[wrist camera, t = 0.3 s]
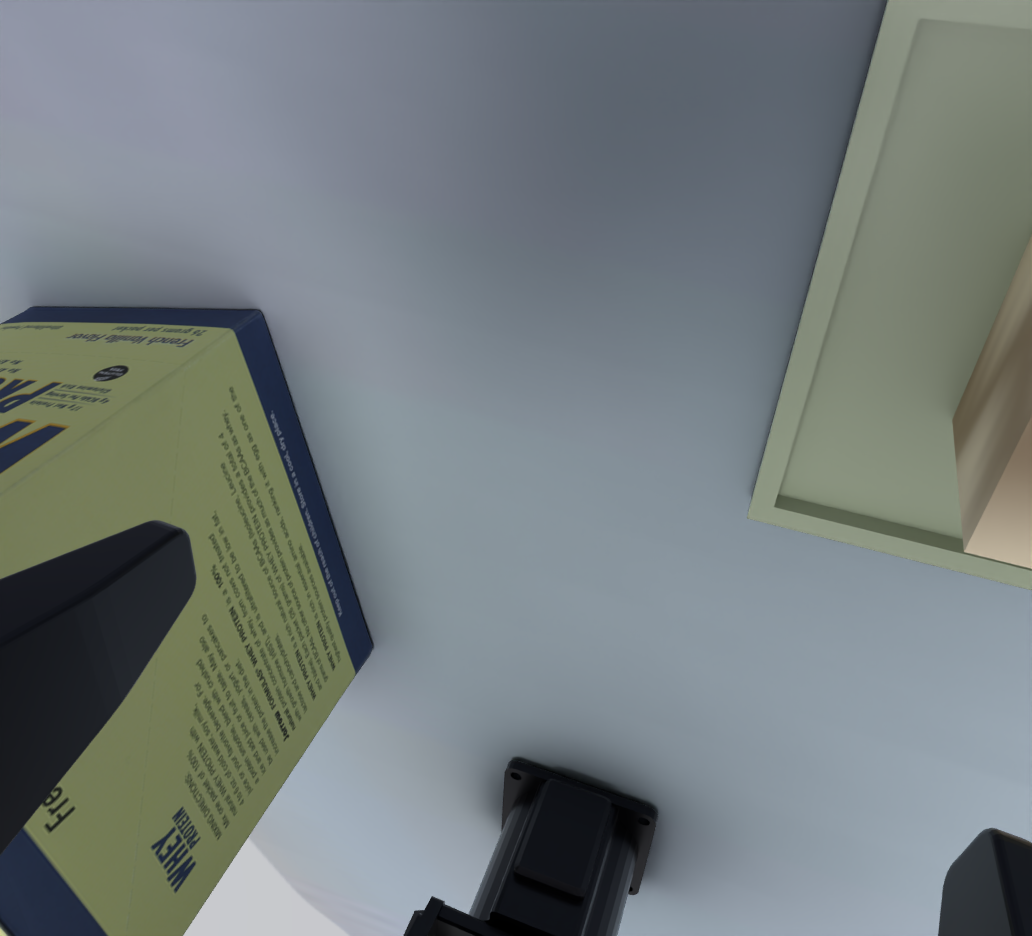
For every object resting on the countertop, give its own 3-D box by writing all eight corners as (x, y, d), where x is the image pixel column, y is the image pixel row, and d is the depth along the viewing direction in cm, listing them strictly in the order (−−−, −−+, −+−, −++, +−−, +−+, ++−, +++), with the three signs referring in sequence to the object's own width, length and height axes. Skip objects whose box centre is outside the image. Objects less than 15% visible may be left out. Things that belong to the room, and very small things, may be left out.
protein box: (261, 298, 26) (-255, 666, 15) (380, 650, 35) (116, 1061, 23) (23, 298, 30) (-535, 589, 18) (183, 615, 39) (-130, 952, 27)
